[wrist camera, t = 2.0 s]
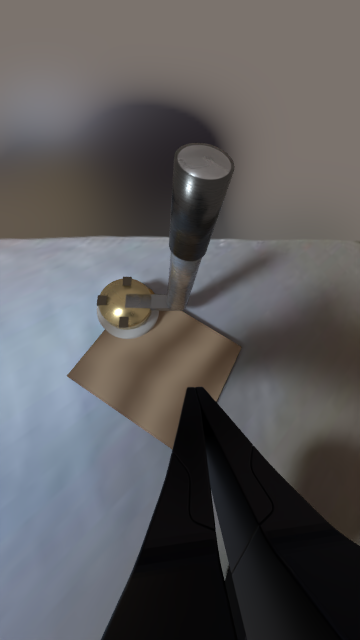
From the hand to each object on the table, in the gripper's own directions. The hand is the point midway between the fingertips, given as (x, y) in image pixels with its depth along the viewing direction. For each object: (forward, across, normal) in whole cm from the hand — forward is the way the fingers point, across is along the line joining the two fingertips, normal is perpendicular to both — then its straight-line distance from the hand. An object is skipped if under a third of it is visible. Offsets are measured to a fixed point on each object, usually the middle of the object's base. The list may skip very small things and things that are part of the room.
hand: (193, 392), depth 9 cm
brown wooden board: (+12, +3, +6) cm, 14 cm away
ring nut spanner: (+14, +4, +1) cm, 15 cm away
